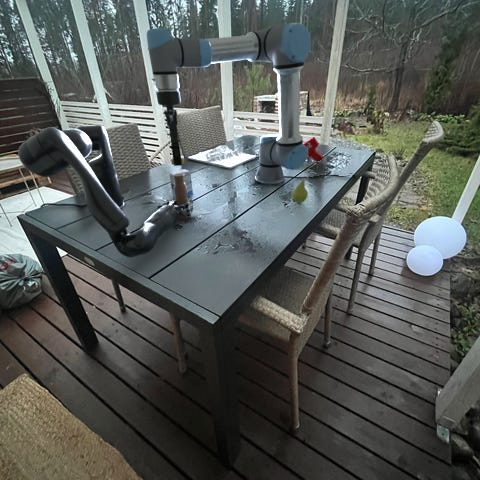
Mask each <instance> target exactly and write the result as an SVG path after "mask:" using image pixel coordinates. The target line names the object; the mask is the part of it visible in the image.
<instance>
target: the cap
mask: <svg viewBox="0 0 480 480" xmlns="http://www.w3.org/2000/svg"><path fill="white" fill-rule="evenodd" d="M181 161H182V165H184V164H185V158H184V156H183V155H181ZM170 162H171V165H173V166H174V160H173V156H171V157H170Z"/></svg>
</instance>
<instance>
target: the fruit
mask: <svg viewBox="0 0 480 480" xmlns="http://www.w3.org/2000/svg"><path fill="white" fill-rule="evenodd" d="M307 176H308V177H307ZM307 176H306V177H307V178H304V179H301V181H300V182H298V184H297V185H296V186H295V187H294V188H293V190H292V191H291V198H292V200H293V201H294V202H295V203H297V204H301V203H304V202H305V201H306V200H307V198H308V196H309V195H308V190H307V189H306V184H305V183H306V180H308V179H310V178H309V177H310V176H311V175H310V174H309V175H307Z"/></svg>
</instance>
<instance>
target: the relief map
mask: <svg viewBox="0 0 480 480" xmlns="http://www.w3.org/2000/svg"><path fill="white" fill-rule="evenodd" d="M256 158H257V157H256V155H254V154H248V153H245V152H244V151H243V150H242V148H237V149H235V150H232V149H230V148H229V147H228V146H227V145H226V144H224V145H223V144H220V145H217V147H214V148H212V149H209V150H205V151H199V152H198V153H197V154H194V155H191V156H188V160H191V161H196V162H200V163H203V164H208V165H213V166H215V167H216V166H217V167H221V168H225V169H230V170H231V169H233V168H236V167H238V166H240V165H242V164H245V163H247V162H249V161H252V160H255V159H256Z"/></svg>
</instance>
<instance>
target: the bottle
mask: <svg viewBox="0 0 480 480" xmlns="http://www.w3.org/2000/svg"><path fill="white" fill-rule="evenodd" d="M183 177H184V176H183V174H181V173H178V174H175V175H174V178H175V184H174V191H175V198H176V205H179V204H181V203H183V204H184V203H186V202H187V201H188V200H189V196H187V187H186V185H185V182H184V178H183ZM175 198H174V199H175ZM185 208H186V206H185ZM189 218H191V216H187V214H183V215H182V216H180V217H179V219H178V220H188V219H189Z"/></svg>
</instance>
